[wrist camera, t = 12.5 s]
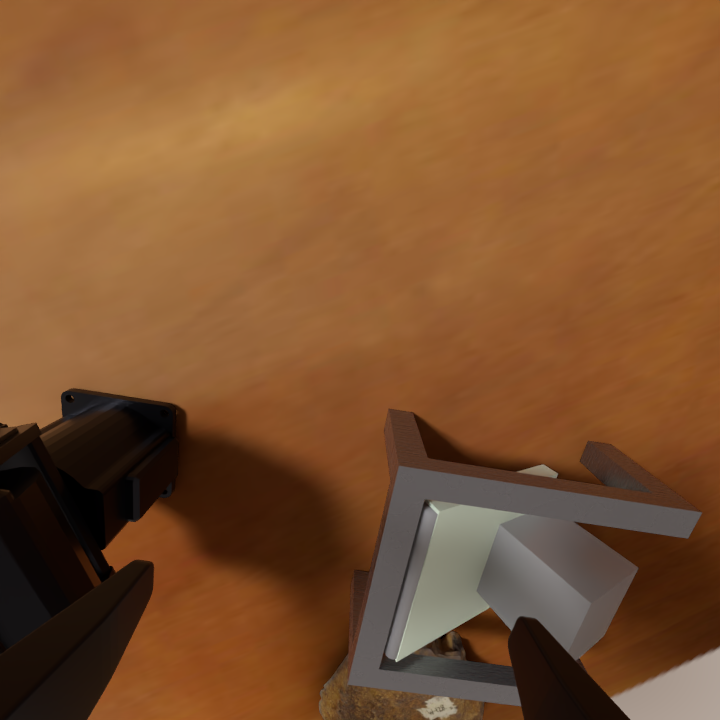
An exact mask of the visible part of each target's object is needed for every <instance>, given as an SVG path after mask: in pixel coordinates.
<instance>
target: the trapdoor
mask: <svg viewBox="0 0 720 720" xmlns="http://www.w3.org/2000/svg"><path fill="white" fill-rule="evenodd" d="M517 472H519V473H526V474H532V475H539V476H545V477H551V478H557V475H558V473H556V472H555V471H553V470H551V469H550V468H548V467H547V466H545V465H543V464H542V465H539V466H535V467H532V468H528V469H525V470H521V471H517ZM522 515H524V514H521V513H514V512H508V511H501V510H494V509H488V508H481V507H474V506H468V505H461V504H454V503H448V502H441V501H434V500H428V499H425V501H424V503H423V507H422V511H421V515H420V518H419V522H418V526H417V529H416V533H415V537H414V541H413V544H412V548H411V552H410V556H409V559H408V563H407V567H406V570H405V574H404V578H403V582H402V585H401V589H400V593H399V596H398V600H397V604H396V608H395V611H394V615H393V619H392V623H391V626H390V630H389V634H388V637H387V641H386V645H385V649H384V652H385V655H386V656H387V657H388V658H390V659H393V660H394V659H395V661H396V662H398V661H399V660H401V659H403V658H404V657H406V656H408V655H410V654H411V653H413V652H415V651H416V650H418V649H420V648H422V647H423V646H425V645H427V644H428V643H430V642H432V641H434V640H435V639H437V638H439V637H440V636H442V635H444V634H446V633H447V632H449V631H451V630H452V629H454V628H456V627H458V626H459V625H461V624H463V623H464V622H466V621H468V620H470V619H471V618H473V617H475V616H476V615H478V614H480V613H482V612H483V611H485V610H487V609H488V608H490V606H489V605H488V604H487V602H486V601H485V600H484V599H483V598H482V597H481V596H480V595H479V593H478V592H477V588H478V585H479V582H480V579H481V576H482V573H483V570H484V568H485V565H486V562H487V559H488V556H489V553H490V550H491V548H492V545H493V542H494V539H495V536H496V533H497V530H498V528H499V525H500V524H502V523H504V522H507V521H509V520H512V519H514V518H517V517H519V516H522Z"/></svg>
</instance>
